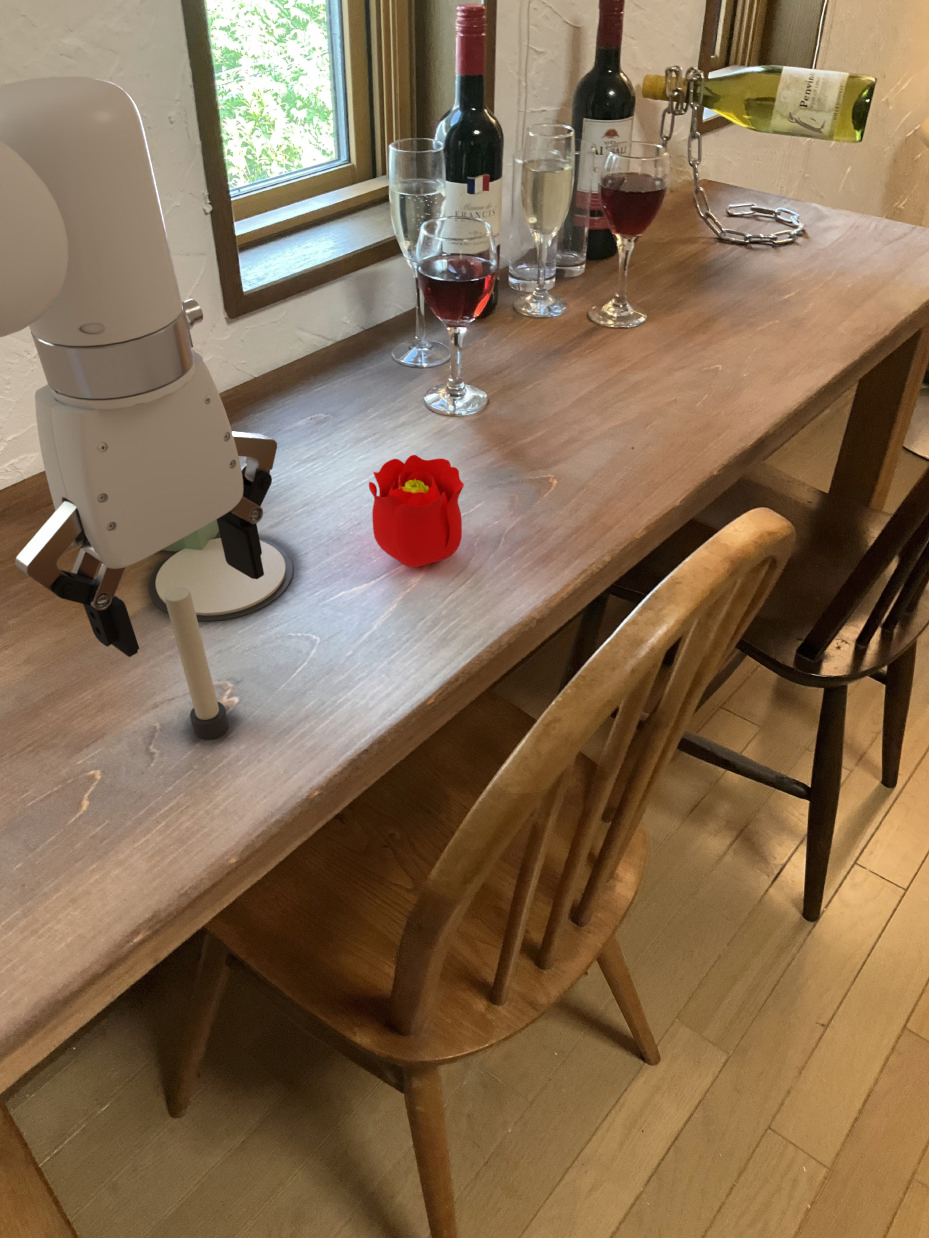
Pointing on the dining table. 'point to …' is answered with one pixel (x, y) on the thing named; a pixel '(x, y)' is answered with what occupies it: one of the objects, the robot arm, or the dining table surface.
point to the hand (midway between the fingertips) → (186, 606)
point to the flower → (417, 510)
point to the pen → (195, 666)
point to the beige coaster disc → (221, 581)
